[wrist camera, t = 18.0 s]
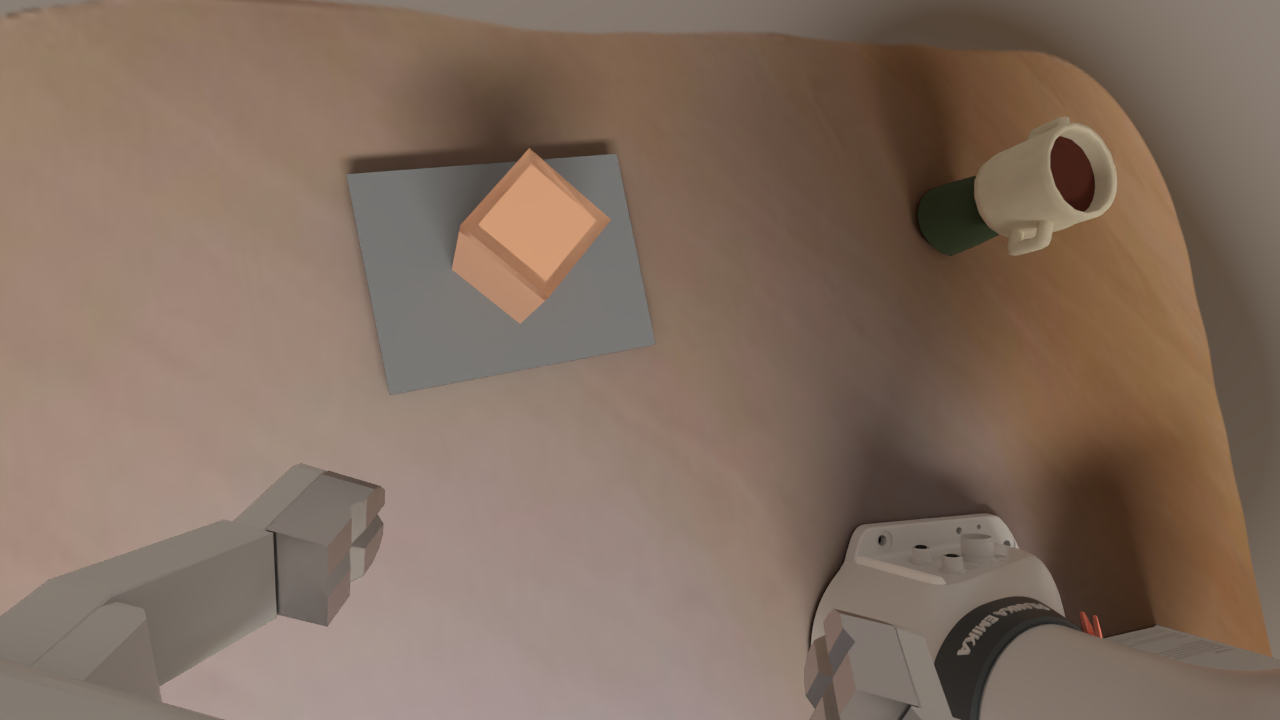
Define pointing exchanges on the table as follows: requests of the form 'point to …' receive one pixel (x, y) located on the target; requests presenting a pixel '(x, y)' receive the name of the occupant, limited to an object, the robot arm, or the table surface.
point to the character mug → (1024, 192)
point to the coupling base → (461, 315)
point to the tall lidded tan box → (526, 237)
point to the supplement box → (1195, 649)
